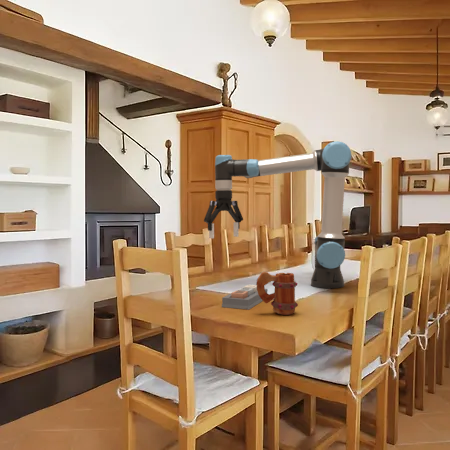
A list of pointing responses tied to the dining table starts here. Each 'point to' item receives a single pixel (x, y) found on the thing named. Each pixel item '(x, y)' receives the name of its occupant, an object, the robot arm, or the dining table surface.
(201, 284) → the dining table surface
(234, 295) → the key
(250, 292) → the key
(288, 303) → the mug
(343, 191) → the robot arm
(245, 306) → the key board
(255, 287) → the key
